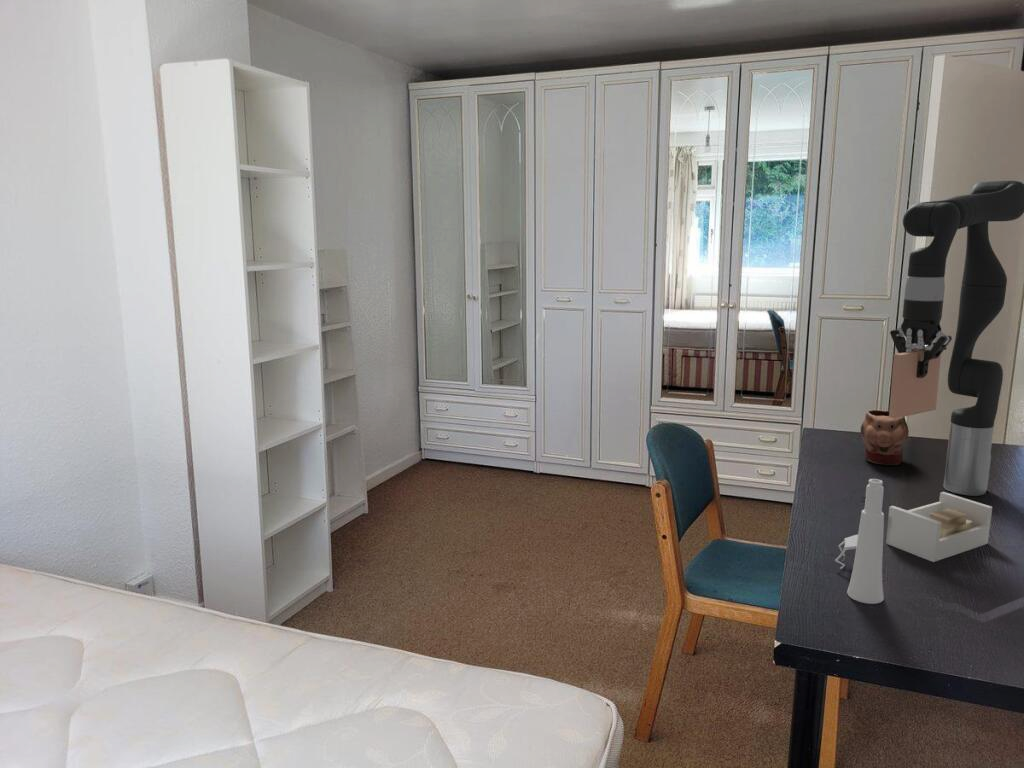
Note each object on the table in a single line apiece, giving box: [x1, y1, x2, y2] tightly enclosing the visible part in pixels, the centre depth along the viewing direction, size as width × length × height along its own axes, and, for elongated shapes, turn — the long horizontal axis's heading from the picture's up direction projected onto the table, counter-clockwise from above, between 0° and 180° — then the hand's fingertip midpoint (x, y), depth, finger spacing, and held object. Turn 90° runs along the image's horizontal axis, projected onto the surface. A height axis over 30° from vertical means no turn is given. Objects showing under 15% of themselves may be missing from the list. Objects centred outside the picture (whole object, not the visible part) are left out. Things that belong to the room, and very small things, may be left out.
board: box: [888, 350, 942, 419], centre depth 169 cm, size 14×2×14 cm, turn 118°
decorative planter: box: [860, 409, 910, 466], centre depth 217 cm, size 20×12×14 cm, turn 161°
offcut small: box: [929, 508, 967, 529], centre depth 156 cm, size 6×4×2 cm, turn 118°
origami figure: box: [834, 534, 858, 570], centre depth 152 cm, size 12×8×5 cm
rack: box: [885, 491, 993, 563], centre depth 158 cm, size 18×10×9 cm, turn 118°
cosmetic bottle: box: [846, 478, 885, 605], centre depth 137 cm, size 6×6×22 cm
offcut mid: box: [940, 519, 973, 539], centre depth 157 cm, size 9×4×2 cm, turn 118°
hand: (915, 376), depth 169 cm, fingers closed on board, 1 cm apart
